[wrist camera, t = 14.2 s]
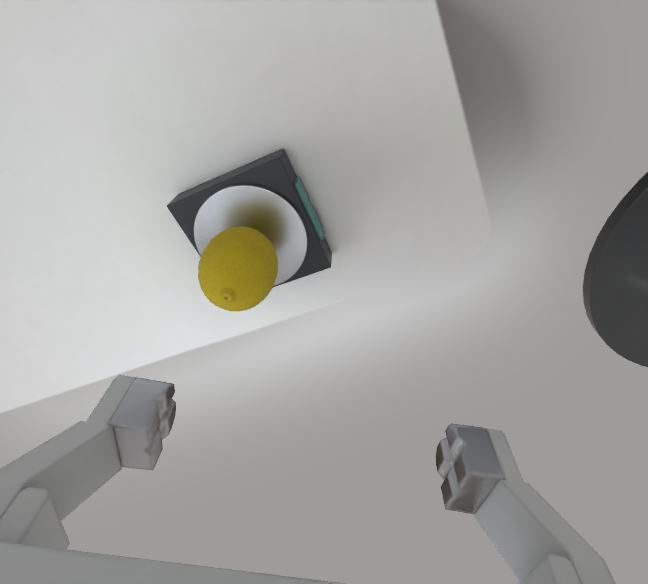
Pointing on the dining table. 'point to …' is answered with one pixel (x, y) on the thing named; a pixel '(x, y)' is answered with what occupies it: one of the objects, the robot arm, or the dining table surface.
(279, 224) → the scale pan
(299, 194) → the scale
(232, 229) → the lemon
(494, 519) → the robot arm
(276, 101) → the dining table surface
